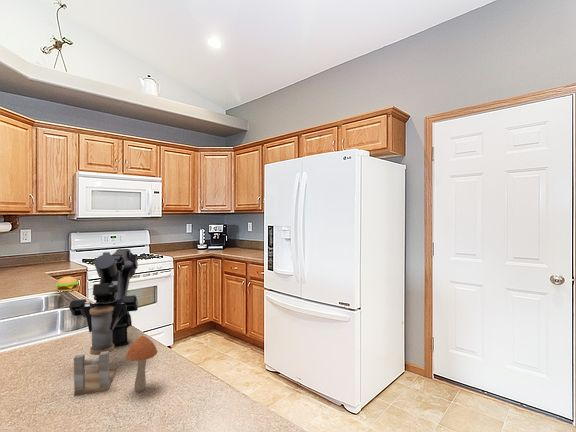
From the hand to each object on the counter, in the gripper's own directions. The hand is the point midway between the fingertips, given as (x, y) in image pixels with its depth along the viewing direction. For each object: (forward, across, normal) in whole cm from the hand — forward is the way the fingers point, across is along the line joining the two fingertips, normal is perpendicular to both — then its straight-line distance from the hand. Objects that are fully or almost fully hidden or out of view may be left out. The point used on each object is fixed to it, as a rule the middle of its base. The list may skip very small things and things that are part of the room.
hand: (100, 330), depth 100 cm
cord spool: (+4, 0, +6) cm, 7 cm away
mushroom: (+19, +13, 0) cm, 23 cm away
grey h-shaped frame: (+13, 0, +5) cm, 14 cm away
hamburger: (-76, -46, +96) cm, 131 cm away
